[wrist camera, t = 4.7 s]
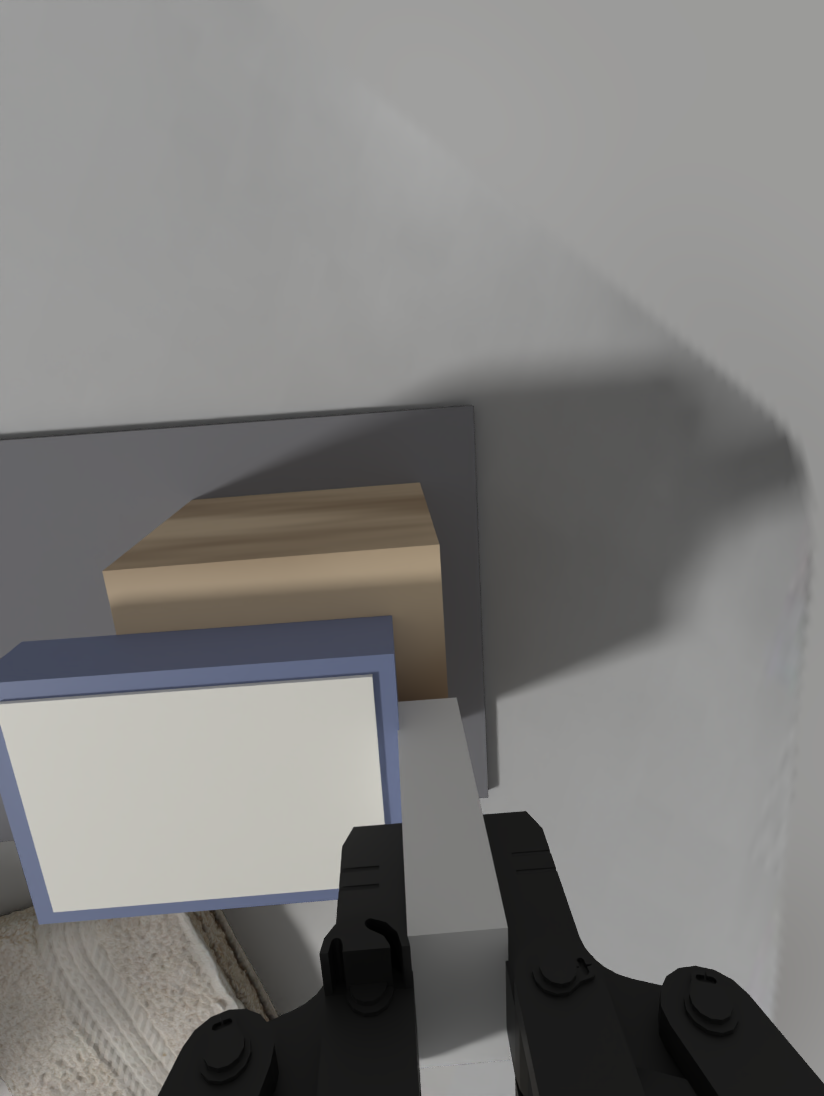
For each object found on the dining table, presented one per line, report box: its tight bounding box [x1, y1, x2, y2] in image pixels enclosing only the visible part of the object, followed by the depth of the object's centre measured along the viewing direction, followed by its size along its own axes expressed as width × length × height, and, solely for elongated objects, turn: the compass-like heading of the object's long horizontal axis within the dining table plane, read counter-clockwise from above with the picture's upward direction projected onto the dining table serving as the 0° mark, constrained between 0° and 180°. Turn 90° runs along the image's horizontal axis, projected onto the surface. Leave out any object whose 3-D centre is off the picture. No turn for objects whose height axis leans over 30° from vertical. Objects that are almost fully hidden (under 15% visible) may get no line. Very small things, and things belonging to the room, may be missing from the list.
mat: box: [0, 405, 488, 842], centre depth 24 cm, size 16×24×1 cm, turn 94°
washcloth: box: [0, 906, 279, 1096], centre depth 29 cm, size 12×18×3 cm, turn 19°
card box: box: [0, 615, 402, 925], centre depth 16 cm, size 6×9×2 cm
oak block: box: [102, 482, 448, 702], centre depth 21 cm, size 10×8×8 cm
